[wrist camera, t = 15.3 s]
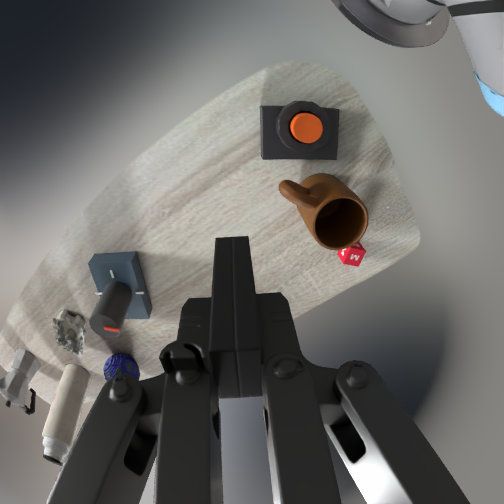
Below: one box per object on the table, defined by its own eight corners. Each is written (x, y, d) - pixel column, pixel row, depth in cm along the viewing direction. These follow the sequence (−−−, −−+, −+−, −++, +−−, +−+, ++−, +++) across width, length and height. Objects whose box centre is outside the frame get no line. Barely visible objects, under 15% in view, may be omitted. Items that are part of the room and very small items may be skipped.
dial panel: (91, 254, 42) (84, 264, 39) (139, 251, 43) (134, 261, 40) (111, 308, 48) (106, 319, 46) (155, 307, 49) (152, 319, 46)
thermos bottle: (66, 374, 60) (40, 458, 36) (65, 360, 57) (33, 451, 33) (91, 384, 62) (69, 471, 39) (91, 371, 59) (65, 465, 35)
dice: (337, 253, 46) (343, 263, 43) (344, 238, 44) (350, 247, 42) (352, 257, 46) (358, 266, 44) (359, 241, 45) (366, 251, 42)
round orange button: (290, 112, 30) (293, 113, 29) (318, 113, 31) (323, 114, 29) (289, 140, 32) (292, 142, 31) (318, 141, 33) (322, 143, 31)
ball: (148, 362, 57) (142, 390, 51) (131, 373, 59) (125, 398, 53) (120, 344, 54) (111, 371, 47) (104, 356, 56) (96, 381, 49)
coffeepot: (7, 344, 54) (-16, 390, 39) (20, 341, 53) (-4, 391, 38) (40, 377, 62) (23, 422, 47) (55, 376, 61) (38, 425, 46)
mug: (258, 193, 39) (265, 220, 31) (285, 146, 36) (302, 162, 28) (325, 227, 43) (346, 260, 35) (352, 187, 40) (381, 212, 32)
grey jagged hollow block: (59, 305, 47) (51, 318, 44) (89, 319, 50) (83, 333, 46) (58, 334, 52) (52, 347, 48) (86, 347, 54) (80, 360, 51)
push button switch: (259, 100, 33) (263, 100, 29) (333, 103, 33) (344, 104, 30) (260, 156, 37) (264, 162, 33) (331, 156, 37) (341, 163, 34)
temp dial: (107, 302, 44) (92, 337, 37) (103, 279, 41) (85, 313, 34) (134, 306, 44) (121, 342, 37) (131, 283, 42) (116, 318, 35)
